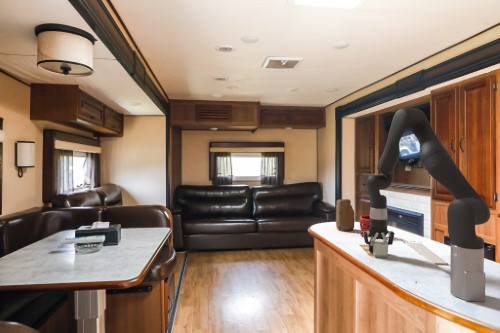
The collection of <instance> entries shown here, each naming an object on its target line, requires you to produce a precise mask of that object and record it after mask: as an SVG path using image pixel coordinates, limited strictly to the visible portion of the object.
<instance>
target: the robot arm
mask: <svg viewBox="0 0 500 333" xmlns="http://www.w3.org/2000/svg"><path fill="white" fill-rule="evenodd" d="M390 124H391V125H390V128H389V131H388V135H387V140H386V143H385V146H384V149H383V152H382V154H381V157H380V159H379V161H378V163H377V166H376V167H377V168H376V169H377V170H378V171H379V172H380V173H379V174H372V175H370V176H368V177H367V179H366V188H367V191H368V195H369V199H370V205H369V206H370V210H369V216H370V229H369V231H363V235H364V237H363V240H364V244H365V245H369V251H370V253H371V254H373V243H374V242H375V240H382V241H383V242H385V243H386V244H387V245H388V246H390V245H391V246H392V245H393V243H394V237H395V232H394V231H393V230H388V209H387V205H388V201H387V196H386V195H383V194H381V191H380V190H387V189H389V187H390V186H391V183H392V181H393V176H394V174H393V173H394V170H395V168H396V166H397V164H398V162H399V160H400V156H401V151H400V149H401V148H400V142H401V138H402V136H403V135H404V133H405V132H412V134H413V135H414V137H415V138H416V140H417V141H418V144H419V159H420V161H421V164H422V165H423V167H424V168H425V170H426V172H427V173H428V174H429V175H430V176H431V177H432V178H433V179H434V180H435V181H436V182H438V183H439V184H440V185H442V186H444V188H446V189H447V190H448V191H449V192H450V193H451V195H452V196H453V197H454V199H453V200H452V201H450V203H449V204H448V206H447V211H446V219H447V234H448V237H449V238H450V266H449V268H450V273H449V274H450V275H449V276H450V279H449V280H450V282H449V283H450V285H449V287H450V288H449V289H450V290H449V291H450V294H451V295H453V296H454V297H455V298H459V299H462V300H463V301H465V302H486V273H485V270H484V269H485V240H484V238H482V237H480V236H479V235H477V232H476V226H478V225H479V226H481V225H483V224H486V223H488V222H489V220H490V218H491V210H490V208H489V206H488V204H487V203H486V201H485V199H483V198H482V196H481V195H480V194H479V193H478V192H477V190H476V189H475V188H474V187H473V185H471V184H470V182H469V181H468V179H467V178H466V176H465V175H464V174H463V172H462V171H461V170H460V168H459V167H458V165H457V163H456V162H455V160H454V159H453V157H452V156H451V155H450V153H449V152H448V149H447V148H446V147H445V146H444V145H443V143H442V142H441V140H440V139H439V137H438V136H437V134H436V133H435V130H434V129H433V127H432V125H431V123H430V121H429V119H428V117H427V115H426V114H425V112H423V110H421V109H419V108H411V107H410V108H409V107H402V108H399V109H398V110H397V111H396V112H395V113H394V115H393V117H392V121H391V123H390ZM369 233H370V234H371V237H368V235H369ZM386 236H388V239H387V237H386Z"/></svg>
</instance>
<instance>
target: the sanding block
mask: <svg viewBox="0 0 500 333" xmlns="http://www.w3.org/2000/svg"><path fill="white" fill-rule="evenodd" d="M388 252H389V245H387V244H386V243H385V242H383V240H382V239H376V240H375V242H374V243H373V254H372V255H373V256H374V257H378V258H377V259H389V258H388V255H389V254H388Z"/></svg>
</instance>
